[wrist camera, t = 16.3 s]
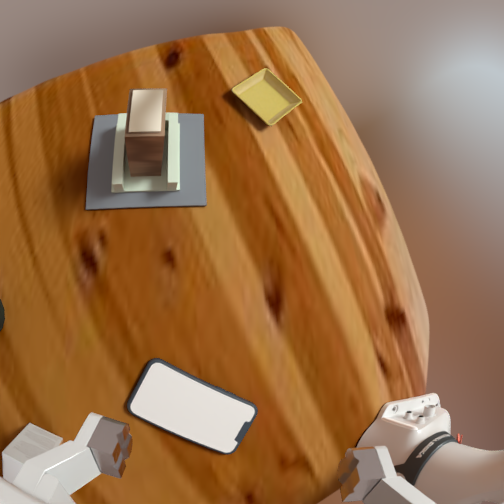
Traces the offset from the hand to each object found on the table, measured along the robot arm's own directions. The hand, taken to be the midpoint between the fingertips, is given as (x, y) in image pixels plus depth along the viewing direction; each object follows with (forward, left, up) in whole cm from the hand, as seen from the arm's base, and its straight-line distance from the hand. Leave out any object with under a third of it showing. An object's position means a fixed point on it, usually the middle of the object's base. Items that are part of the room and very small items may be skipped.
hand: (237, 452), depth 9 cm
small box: (+22, +16, -30) cm, 40 cm away
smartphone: (-1, +10, -30) cm, 32 cm away
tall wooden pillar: (+3, -24, -29) cm, 37 cm away
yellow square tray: (-15, -35, -30) cm, 48 cm away
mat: (+3, -24, -29) cm, 38 cm away
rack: (+3, -24, -29) cm, 38 cm away
